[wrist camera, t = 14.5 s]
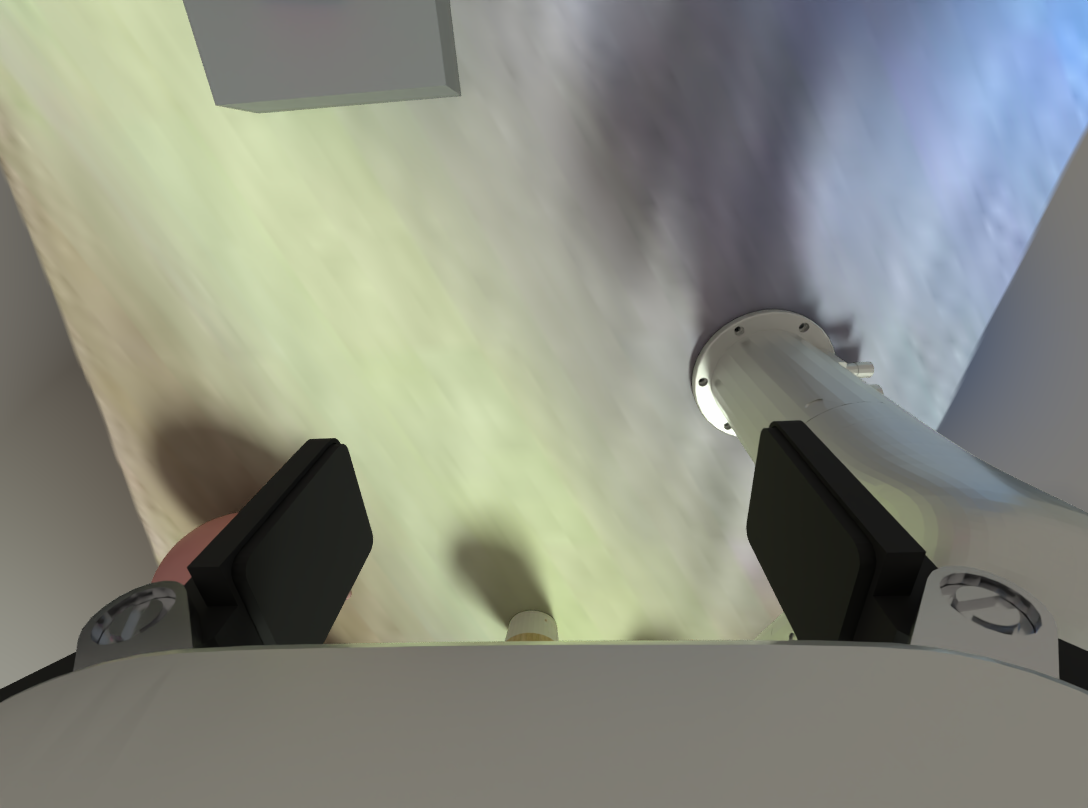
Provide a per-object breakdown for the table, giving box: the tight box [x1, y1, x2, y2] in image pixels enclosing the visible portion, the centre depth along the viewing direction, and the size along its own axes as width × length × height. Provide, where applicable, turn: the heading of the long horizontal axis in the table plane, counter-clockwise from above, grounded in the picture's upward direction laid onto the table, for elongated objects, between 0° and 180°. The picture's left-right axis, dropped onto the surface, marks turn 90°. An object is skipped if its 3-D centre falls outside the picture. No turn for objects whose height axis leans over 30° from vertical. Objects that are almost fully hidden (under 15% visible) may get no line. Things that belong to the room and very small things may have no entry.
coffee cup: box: [505, 610, 558, 641], centre depth 55 cm, size 10×10×15 cm
